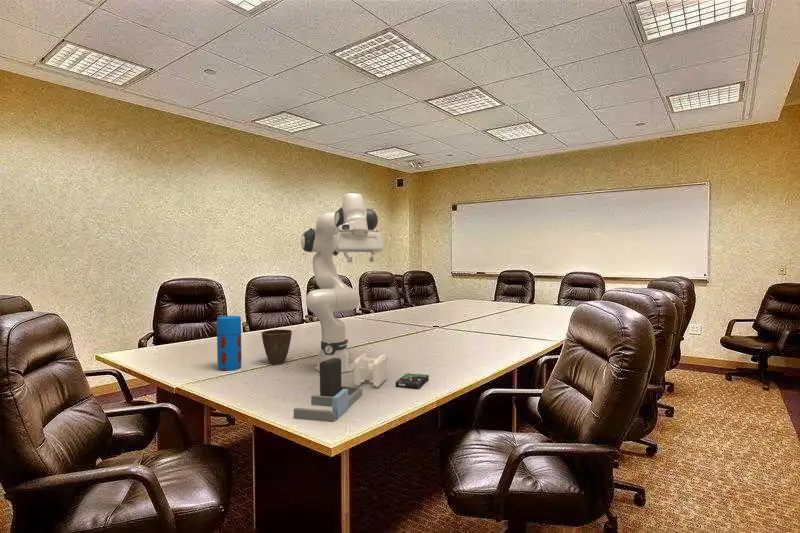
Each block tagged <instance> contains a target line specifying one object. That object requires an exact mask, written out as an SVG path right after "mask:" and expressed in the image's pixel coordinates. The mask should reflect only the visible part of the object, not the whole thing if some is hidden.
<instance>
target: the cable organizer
mask: <svg viewBox="0 0 800 533" xmlns="http://www.w3.org/2000/svg"><path fill="white" fill-rule="evenodd" d="M388 358H389V357H388V356H387V354H381V355H379V356H378V357H377V358H372V357H369V354H368V353H364V352H363V354H361V355H359V356H358V357H357V358H355V360H354V370H353V372H354V378H353V379H354V385H355V386H356V387H360V386H361V385H362V383H365V382H366V381H369V383H370V385H371V384H373V387H375V388H379V387H380V386H381V385H382V384H383V383H384V382H385V380H386V379H387V376H388V365H387V364H388Z"/></svg>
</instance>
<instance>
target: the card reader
mask: <svg viewBox="0 0 800 533" xmlns="http://www.w3.org/2000/svg"><path fill="white" fill-rule="evenodd" d="M341 386H342V373H341V359H340V358H332V359H329V360H325V361H322V362H321V363H320V372H319V396H331V397H334V396H335V395H337V394H338V393H339V392H340V391H341Z"/></svg>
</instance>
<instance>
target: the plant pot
mask: <svg viewBox="0 0 800 533" xmlns="http://www.w3.org/2000/svg"><path fill="white" fill-rule="evenodd" d="M292 333H293V331H292V330H290V329H269V330H264V331H262V332H261V339H262V344H263V348H264V352H265V355H266V358H267V360H268V363H269V365H276V366H277V365H282V364H285V362H286V359H287V357H288V353H289V349H290V344H291V340H292Z"/></svg>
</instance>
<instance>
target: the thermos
mask: <svg viewBox="0 0 800 533" xmlns="http://www.w3.org/2000/svg"><path fill="white" fill-rule="evenodd" d="M216 338H217V339H216V341H217V344H216V345H217V347H216V348H217V349H216V350H217V352H216V353H217V354H216V355H217V370H218V371H220V372H232V371H237V370H241V369H242V360H243V359H242V318H241V316H240V315H223V316H218V317H217V319H216Z"/></svg>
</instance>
